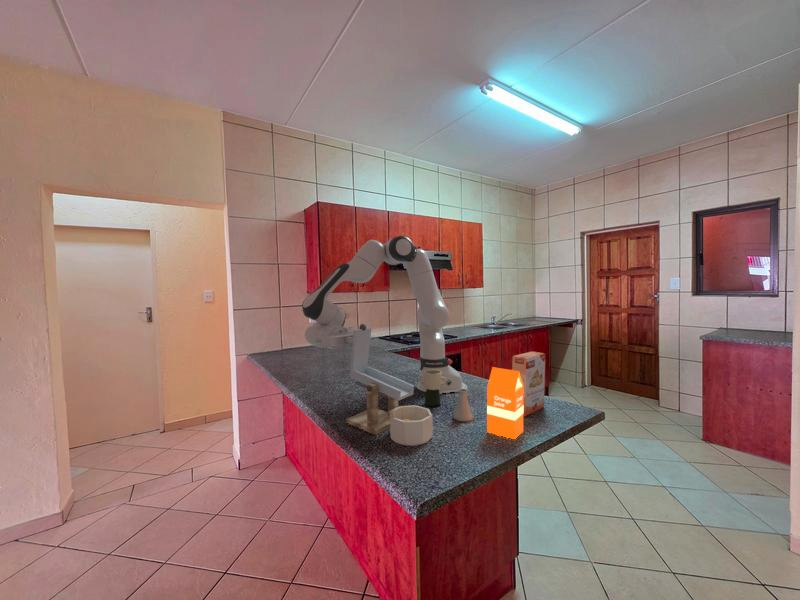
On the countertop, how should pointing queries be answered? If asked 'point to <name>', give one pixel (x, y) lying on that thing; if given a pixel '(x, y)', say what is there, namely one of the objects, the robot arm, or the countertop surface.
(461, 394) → the flask
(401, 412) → the cup
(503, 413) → the orange juice
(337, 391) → the countertop surface
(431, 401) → the character mug
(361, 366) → the tipping trough
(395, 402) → the trough stand
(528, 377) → the cracker box
